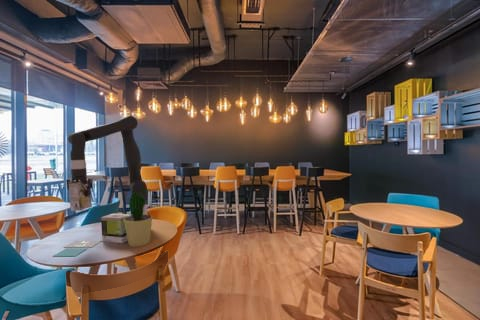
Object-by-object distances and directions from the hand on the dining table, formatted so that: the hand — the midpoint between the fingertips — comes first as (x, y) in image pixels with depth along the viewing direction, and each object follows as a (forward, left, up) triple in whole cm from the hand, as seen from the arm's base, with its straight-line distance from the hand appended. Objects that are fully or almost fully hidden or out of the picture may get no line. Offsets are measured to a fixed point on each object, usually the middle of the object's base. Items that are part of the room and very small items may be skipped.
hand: (80, 196), depth 152 cm
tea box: (-17, -7, -28) cm, 33 cm away
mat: (-1, +12, -28) cm, 30 cm away
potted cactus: (-33, -1, -28) cm, 43 cm away
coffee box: (0, 0, -7) cm, 7 cm away
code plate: (0, 0, -28) cm, 28 cm away
